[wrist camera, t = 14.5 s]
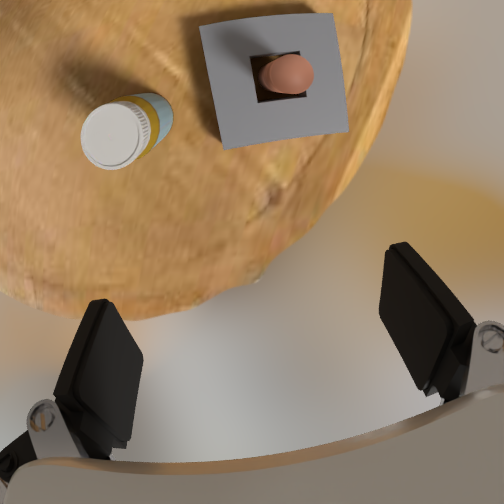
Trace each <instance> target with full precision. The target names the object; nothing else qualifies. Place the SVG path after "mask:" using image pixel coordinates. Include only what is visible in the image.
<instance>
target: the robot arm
mask: <svg viewBox="0 0 504 504" xmlns="http://www.w3.org/2000/svg"><path fill="white" fill-rule="evenodd" d="M379 315H380V318H381V320H382V322H383V323H384V325H385V327H386V329H387V331H388V333H389V334H390V336H391V338H392V340H393V342H394V344H395V346H396V347H397V349H398V351H399V353H400V355H401V357H402V359H403V361H404V363H405V365H406V367H407V368H408V370H409V372H410V374H411V376H412V378H413V380H414V382H415V384H416V386H417V388H418V389H419V390H423V392H424V393H425V396H426V397H427V396H430V395H432V394H434V393H436V392H439V395H440V397H441V402H440V405H439V406H438V407H436V408H434V409H431V410H429V411H426V412H424V413H422V414H419V415H416V416H414V417H411V418H408V419H406V420H403V421H400V422H397V423H395V424H392V425H389V426H386V427H383V428H380V429H378V430H374V431H371V432H368V433H364V434H361V435H358V436H355V437H351V438H347V439H343V440H340V441H336V442H332V443H328V444H324V445H319V446H315V447H310V448H305V449H301V450H296V451H291V452H285V453H279V454H273V455H266V456H259V457H252V458H243V459H234V460H223V461H210V462H186V463H149V462H128V461H127V462H126V461H116V460H115V458H114V456H113V455H112V453H111V451H112V447H113V448H122V449H126V446H127V441H129V440H130V439H131V434H132V427H133V420H134V413H135V406H136V400H137V394H138V388H139V382H140V377H141V372H142V366H143V354H142V352H141V350H140V349H139V347H138V345H137V344H136V342H135V341H134V339H133V337H132V336H131V334H130V332H129V330H128V329H127V327H126V325H125V324H124V322H123V320H122V318H121V316H120V315H119V313H118V311H117V309H116V307H115V305H114V304H113V303H112V302H109V301H108V300H107V299H99V300H93V301H91V302H90V303H89V305H88V307H87V310H86V312H85V314H84V316H83V319H82V321H81V323H80V325H79V328H78V330H77V332H76V335H75V337H74V340H73V342H72V345H71V347H70V349H69V352H68V354H67V357H66V360H65V362H64V365H63V368H62V370H61V373H60V375H59V378H58V381H57V384H56V387H55V390H54V393H53V395H54V396H55V397H56V399H55V402H54V401H52V400H49V399H44V400H41V401H39V402H37V403H36V404H35V405H34V406H33V407H32V408H31V409H30V411H29V413H28V416H27V428H28V430H27V431H26V432H25V433H23V434H22V435H21V436H19V437H18V438H17V439H15V440H14V441H13V442H12V443H10V444H9V445H8V446H7V447H5V448H4V449H3V450H2V451H1V452H0V504H504V326H503V325H502V324H500V323H498V322H495V321H485V322H482V323H480V324H479V325H478V326H477V325H476V324H475V323H474V319H473V318H472V317H471V315H470V314H469V313H468V312H467V310H466V309H465V308H464V306H463V305H462V304H461V303H460V302H459V300H458V299H457V298H456V296H455V295H454V294H453V293H452V292H451V290H450V289H449V288H448V287H447V286H446V285H445V283H444V282H443V281H442V280H441V279H440V278H439V276H438V275H437V274H436V273H435V272H434V271H433V270H432V269H431V267H430V266H429V265H428V264H427V263H426V262H425V261H424V260H423V259H422V257H421V256H420V255H419V254H418V253H417V252H416V251H415V250H414V249H413V248H412V247H411V246H410V245H409V244H408V243H407V242H401V243H396V244H392V245H390V247H389V250H386V252H385V260H384V270H383V280H382V287H381V296H380V303H379Z"/></svg>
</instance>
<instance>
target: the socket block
mask: <svg viewBox="0 0 504 504" xmlns="http://www.w3.org/2000/svg"><path fill="white" fill-rule="evenodd" d="M199 30H200V35H201V40H202V45H203V50H204V55H205V60H206V65H207V70H208V75H209V80H210V85H211V90H212V95H213V100H214V105H215V110H216V115H217V120H218V125H219V130H220V135H221V140H222V144H223V149H224V150H227V149H232V148H238V147H243V146H248V145H254V144H260V143H266V142H272V141H278V140H285V139H292V138H299V137H307V136H315V135H323V134H332V133H342V132H349V126H348V115H347V105H346V96H345V88H344V80H343V72H342V65H341V58H340V52H339V45H338V39H337V34H336V28H335V23H334V17H333V13H306V14H285V15H271V16H261V17H252V18H244V19H237V20H231V21H225V22H219V23H213V24H208V25H203V26H199ZM285 54H295V55H299V56H302V57H303V58H305V59H306V60H307V61H308V62H309V63H310V64H311V66H312V68H313V72H314V79H313V82H312V84H311V86H310V87H309V88H308V89H307V90H306V91H304V92H302V93H299V96H293V97H285V98H277V99H269V100H263V101H257V96H256V90H255V85H254V79H253V73H252V68H251V62H250V59H251V58H259V57H266V56H275V55H285Z"/></svg>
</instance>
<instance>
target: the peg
mask: <svg viewBox="0 0 504 504" xmlns="http://www.w3.org/2000/svg"><path fill="white" fill-rule="evenodd" d="M257 78H258V82H259V84H260V86H261V87H262V88H264V89H265V90H267V91H272V92H280V93H288V94H299V93H302V92H304V91H306V90H307V89H308V88H309V87H310V86H311V84H312V82H313V79H314V72H313V68H312V66H311V64H310V63H309V62H308V61H307V60H306V59H305V58H303V57H302V56H299V55H295V54H288V55H284V56H282V57H280V58H278V59H276V60H274V61H272V62H270V63H268V64H266V65H264V66H262V67H261V68H260V70H259V72H258V75H257Z"/></svg>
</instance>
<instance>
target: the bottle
mask: <svg viewBox="0 0 504 504" xmlns="http://www.w3.org/2000/svg"><path fill="white" fill-rule="evenodd" d="M172 124H173V110H172V107H171V105H170V104H169V102H168V101H167V100H166V99H165V98H164V97H162V96H161V95H158V94H154V93H142V94H135V95H128V96H122V97H119V98H116V99H114V100H112V101H110V102H109V103H107V104H104V105H102V106H99V107H98V108H96V109H95V110H93V112H91V113H90V115H89V116H88V117H87V118H86V120H85V122H84V124H83V127H82V131H81V145H82V148H83V151H84V153H85V155H86V157H87V158H88V159H89V160H90V161H91V162H92V163H93V164H94V165H96V166H98V167H100V168H103V169H108V170H115V169H119V168H122V167H125V166H127V165H128V164H130V163H131V162H132V161H134V160H136V159H139V158H141V157H143V156H144V155H145V154H147V153H148V152H149V151H150V150H151V149H152V148H153V147H155V146H156V145H157V144H158V143H159V142H160V141H161V140H162V139H163V138H164V137H165V136H166V135H167V134H168V132H169V131H170V129H171V127H172Z"/></svg>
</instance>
